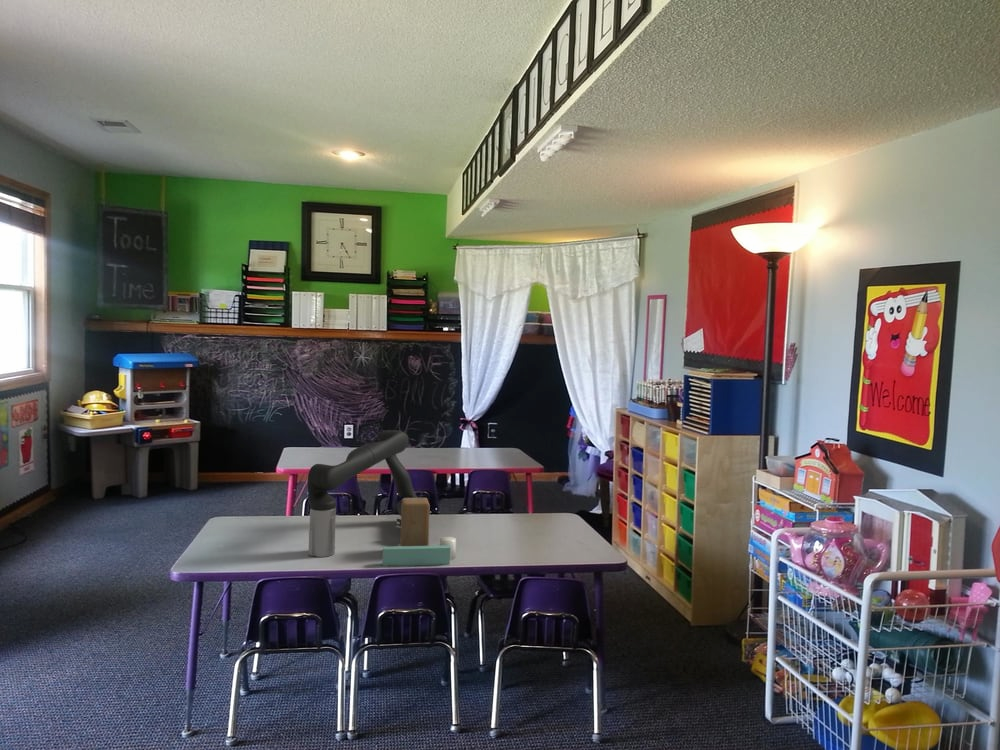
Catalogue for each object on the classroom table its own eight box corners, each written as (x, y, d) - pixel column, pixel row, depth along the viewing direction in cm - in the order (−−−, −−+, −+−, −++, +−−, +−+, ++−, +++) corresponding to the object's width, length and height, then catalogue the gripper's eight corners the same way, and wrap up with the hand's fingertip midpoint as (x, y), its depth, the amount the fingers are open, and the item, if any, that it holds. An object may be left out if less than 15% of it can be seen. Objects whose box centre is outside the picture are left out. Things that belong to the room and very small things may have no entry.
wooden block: (401, 556, 258) (403, 503, 257) (400, 548, 268) (401, 497, 267) (428, 556, 260) (430, 503, 259) (426, 547, 270) (427, 497, 269)
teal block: (382, 565, 248) (382, 549, 247) (382, 563, 250) (382, 546, 250) (449, 564, 252) (450, 547, 252) (448, 561, 255) (449, 545, 254)
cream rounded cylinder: (440, 560, 256) (440, 541, 255) (438, 555, 262) (439, 536, 261) (456, 560, 257) (457, 541, 256) (454, 554, 263) (455, 536, 262)
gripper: (395, 507, 285) (396, 518, 268) (427, 507, 288) (430, 518, 271) (394, 525, 286) (396, 538, 269) (426, 525, 288) (430, 537, 271)
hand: (413, 528), depth 270 cm, fingers closed
